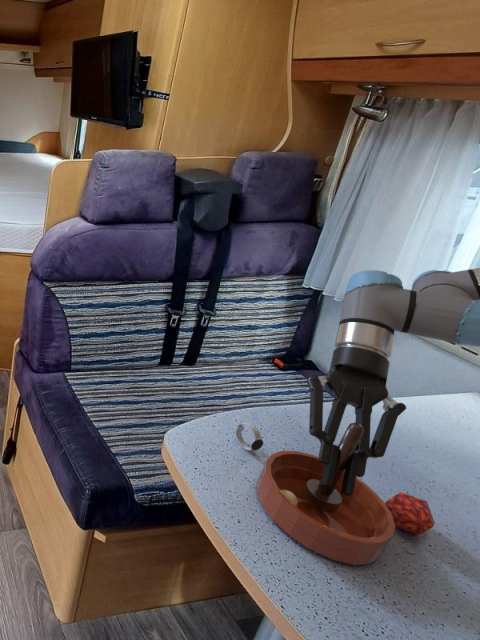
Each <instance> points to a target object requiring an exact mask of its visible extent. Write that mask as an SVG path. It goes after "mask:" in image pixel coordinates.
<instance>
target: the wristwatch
mask: <svg viewBox="0 0 480 640" xmlns="http://www.w3.org/2000/svg"><path fill="white" fill-rule="evenodd" d="M244 426H246V427H248V429H249V430H251V432H252V434H253V436H254V437H253V439H252V441H251V442H250V445H248V444H247V443H246V441H245V440H244V437H243V435H242V432H243V431H244V430H245V427H244ZM234 435H235V438H236V441H237V442H238V444H239V445H240V447H241V448H242V449H243V450H245V451H258V450H260V449H261V448H262V447H263V445H264V440H263V437H262V436H261V432H260V431H259V429H258V428H257V427H256V426H255V425H254V424H252V423H249V422H239V423H237V425H236V426H235V431H234Z"/></svg>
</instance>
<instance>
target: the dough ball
mask: <svg viewBox="0 0 480 640" xmlns="http://www.w3.org/2000/svg"><path fill="white" fill-rule="evenodd" d="M281 492H282V493H283V494H284V496H285V497H286V498H287V499H288V500H289V501H290V502H291V503H293V504H294V505H295V506H296V507H297V504H298V501H297V498H296V496H295V495H294V494H293V493H292V492H290V491H288V490H281Z"/></svg>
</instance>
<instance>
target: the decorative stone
mask: <svg viewBox="0 0 480 640" xmlns="http://www.w3.org/2000/svg"><path fill="white" fill-rule="evenodd" d="M384 503H385V505H386V506H387V507H388V509H389V510H390V512H391V514H392V517H393V520H394V523H395V528H398V529H400V530H402V531H405V532H408V533H410V534H412V535H415V536H419V535H423V534H424V533H426V532H428V531H429V530H430V529H432V528H434V526H435V524H436V523H435V519H434V517H433V514H432V512H431V509H430V506H429V504H428V501H427V500H425V499H422V498H418V497H417V496H414V495H411V494H407V493H405V492H401V491H400V492H398V493H396V494H394V496H392V497H390V498H389V499H388V500H386V501H385V502H384Z"/></svg>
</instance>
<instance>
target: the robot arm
mask: <svg viewBox="0 0 480 640" xmlns="http://www.w3.org/2000/svg"><path fill="white" fill-rule="evenodd" d="M338 323H339V324H338V328H337V333H336V338H335V341H334V348H335V349H334V350H333V351H332V352H333V353H332V357H331V362H330V365H329V366H330V367H329V371H328V372H327V373H325V375H322V376H321V375H320V376H318V375H315V374H313V375H311V376H309V378H307V379H306V384H307V386H308V389H309V391H310V393H309V423H308V425H309V426H308V432H309V435H311V436H313V437H315V439H317V440H318V441H319V443H320V446H319V452H318V456H317V457H318V460H319V462H321V463H323V464H325V465H324V470H323V475H322V480H321V486H324V487H332V484H333V478H334V473H335V468H336V462H337V457H338V452H339V446H338V445H336V444H334V443H335V441H336V439H337V436H338V432H339V430H340V426H341V424H342V423H341V422H342V420H343V417H344V414H345V410H346V408H347V406H351V407H353V408H354V414H355V422H354V423H358V424H360V425H361V426H362V427H363V428H364V434H363V436H362V438H361V440H360V442H359V443H358V445H357V447H356V449H355V451H354V453H353V455H352V457H351V459H350V461H349V462H348V464H347V466H346V468H345V472H344V477H343V483H342V489H341V494H344V495H346V496H352V495H353V492H354V486H355V480H356V477H357V478H363V477H364V476H365V473H366V468H367V461H368V458H371V459H378V458H383V457H384V456H385V453H386V451H387V448H388V445H389V443H390V441H391V437H392V434H393V431H394V430H395V429H394V428H395V425H396V424H397V420H398V417H399V416H400V415H402V413H404V412H405V411H406V410H407V405H406V404H405V403H403V402H397V401H396V400H395V399H393V398H392V397H391V396H389V395H390V394H389V391H388V387H387V382H388V377H389V376H388V375H389V369H390V363H391V362H390V360H389V359H391V357H392V352H393V344H394V337H395V332H400V333H404V334H410V335H414V336H419V337H424V338H427V339H433V340H438V341H442V342H448V343H453V344H457V345H459V346H470V347H476V348H480V267H478V268H470V269H464V270H458V271H450V270H447V269H446V270H445V269H431V270H427V271H424V272H422V273H420V274H419V275H417V276H416V278H414V280H413V282H412V285H411V289H407V288H404V286H403V281H402V279H401V278H400V277H399V276H397V275H395V274H393V273H388V272H387V271H384V270H375V269H369V270H367V269H366V270H361V271H358V272H356V273H354V274H352V275H351V276H350V278H349V279H348V281H347V285H346V289H345V293H344V296H343V301H342V307H341V313H340V318H339V322H338ZM326 385H327V387H328V389H329V391H330V392H331V395H332V397H333V401H332V403H331V409H330V411H329V414H328V416H327V420H326V423H325V426H324V429H323V420H324V418H323V417H324V389H325V388H326ZM381 402H382V403H383V405H382V410H383V411H384V412H383V413H382V415H381V417H380V420H379V422H378V425H377V428H376V430H375V433H374V435H373V438H372V442H371V421H372V420H371V416H372V415H371V414H372V413H373V407H375V406H376V405H378V404H379V403H381ZM370 442H371V443H370Z"/></svg>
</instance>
